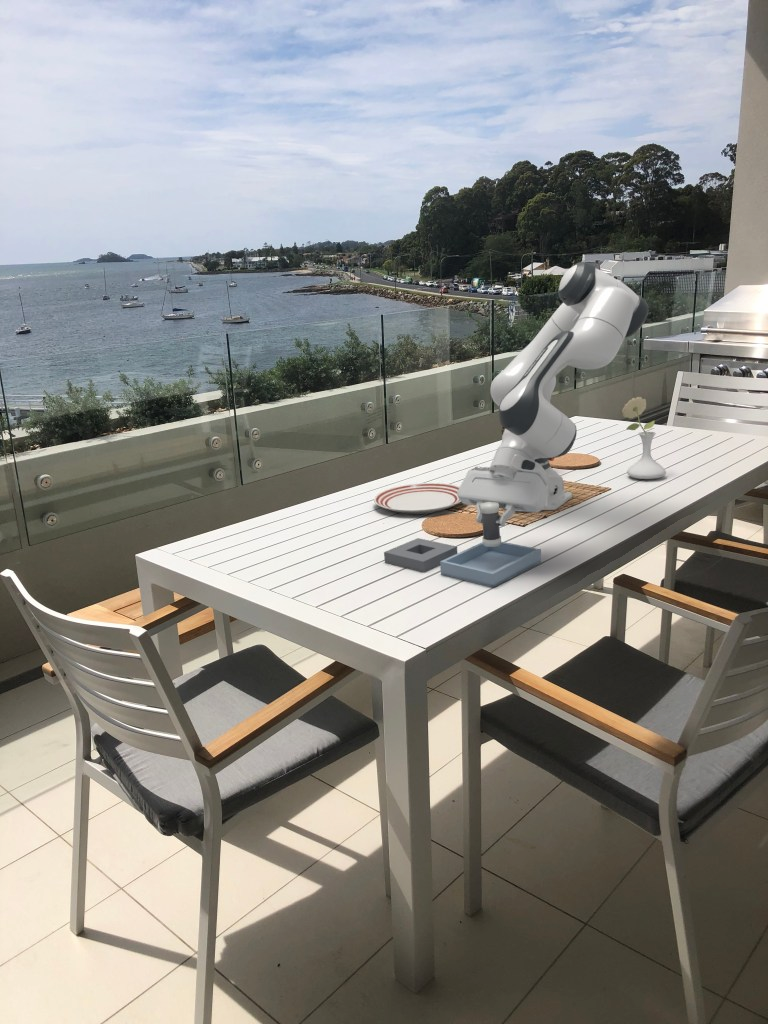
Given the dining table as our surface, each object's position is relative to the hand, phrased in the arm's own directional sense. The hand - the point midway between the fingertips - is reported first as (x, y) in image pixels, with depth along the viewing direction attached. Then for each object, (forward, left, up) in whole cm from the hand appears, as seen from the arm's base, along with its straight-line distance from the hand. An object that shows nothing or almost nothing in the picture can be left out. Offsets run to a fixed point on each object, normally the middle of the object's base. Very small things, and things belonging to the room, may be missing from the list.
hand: (489, 523), depth 164 cm
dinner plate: (-33, -48, -11) cm, 59 cm away
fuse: (-1, 0, -5) cm, 5 cm away
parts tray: (-1, 0, -11) cm, 11 cm away
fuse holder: (+3, -17, -11) cm, 21 cm away
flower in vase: (-90, -7, -11) cm, 91 cm away
